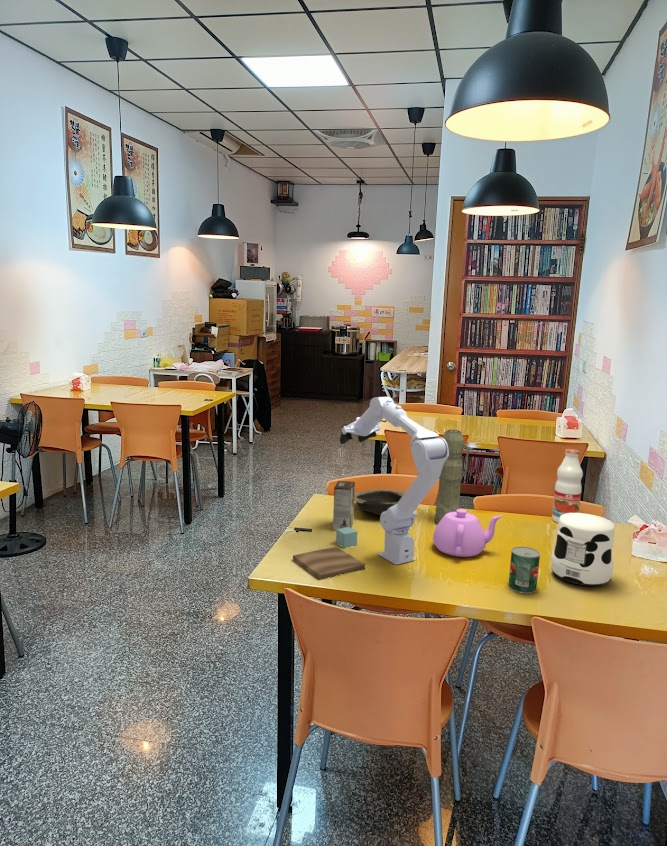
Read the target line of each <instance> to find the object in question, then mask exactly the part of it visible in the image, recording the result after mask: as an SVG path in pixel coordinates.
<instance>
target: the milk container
mask: <svg viewBox="0 0 667 846" xmlns="http://www.w3.org/2000/svg"><path fill="white" fill-rule="evenodd" d="M557 524H558V525H557V531H556V541H555V545H554V548H553V550H552V553H551V558H550V563H551V569H552V571H553V573H554V574H555V575H556V576H557V577H559V578H560V579H562V580H563V581H567V582H568V583H571V584H577V585H579V586H587V587H588V586H589V587H591V586H592V587H594V586H595V587H597V586H601V585H605V584H607V583H608V582H610V580H611V578H612V575H613V573H614V560H613V547H614V546H613V545H614V538H615V523H613V521H612V520H609V519H608V518H606V517H603V516H598V515H595V514H590V513H586V512H585V513H584V512H583V513H582V512H579V513H567V514H563V515H561V516H560V520H559V523H557Z"/></svg>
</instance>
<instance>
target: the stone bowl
mask: <svg viewBox="0 0 667 846" xmlns="http://www.w3.org/2000/svg"><path fill="white" fill-rule="evenodd" d="M405 492H406V491H404V490H397V489H385V488H384V489H383V488H382V489H381V488H378V489H369V490H368V489H367V490H361V491H355V493H354V502H356V506H357V507H358V509H360V510H361V511H364V512H368V513H373V514H374V515H379V517H380V516H381V514H382V513H383V512H384V511H387V510H388V508H390V507H392V506H394V505H395V504H397V503H398V502H399V501H400V499H401V498H402V496H403V495H404V494H405Z"/></svg>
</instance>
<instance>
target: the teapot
mask: <svg viewBox="0 0 667 846" xmlns="http://www.w3.org/2000/svg"><path fill="white" fill-rule="evenodd" d="M503 516H504V515H502V514H501V515H500V514H499V515H495V516H493V517H492V518H491V519H490V520H489V526H488V528H487V529H486V530H485V531H484V529H483V527H482V524H481V522H480V521H479V519H478V518H477V516H476V515H475V514H472V513H469V512H468V511H467V510H466V509H464V508H460V509H457V510H456V512H449V513H447V514H446V515H445V516H444V517H443V518H442V519H441V521H440V522H439V523H438V525H437V524H436V527H435V529H434V531H433V535H432V541H433V544H434V545H435V547H436V548H437V550H439V551H440V552H441V553H443V554H445V555H450V556H454V557H461V558H466V557H467V558H469V557H474V556H477V555H479V554H480V553H481V552H482V551H483V550H484V549H485V548H486V545H487V544H488V543H490V542H491V541H492V540H493V537H494V536H495V530H496V524H497V522H498V520H499V519H501V518H503Z"/></svg>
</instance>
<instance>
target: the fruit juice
mask: <svg viewBox="0 0 667 846" xmlns="http://www.w3.org/2000/svg"><path fill="white" fill-rule="evenodd" d="M564 454H565V457H564V458H563V460H562V462H561V463H560V465H559V466H558V467H557V472H556V476H557V479H556V481H555V483H554V485H555V486H554V495H553V504H552V513H551V519H552V521H554V522H555V523H557V524H559V520H560V516H561V515H563V514H567V513H580V504H581V497H582V482H581V481H582V478H583V476H584V472H583V469H582V467H581V464H580V460H579V454H580V450H578V449H576V448H575V449H574V448H566V449H565V452H564Z"/></svg>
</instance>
